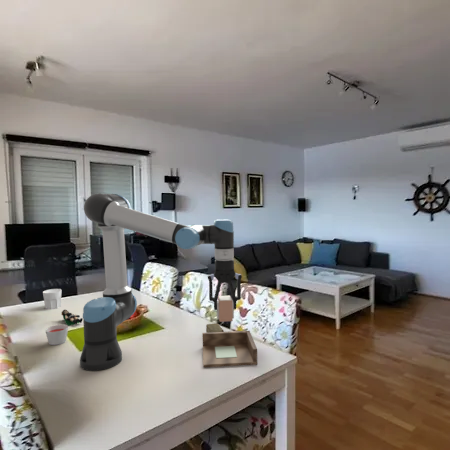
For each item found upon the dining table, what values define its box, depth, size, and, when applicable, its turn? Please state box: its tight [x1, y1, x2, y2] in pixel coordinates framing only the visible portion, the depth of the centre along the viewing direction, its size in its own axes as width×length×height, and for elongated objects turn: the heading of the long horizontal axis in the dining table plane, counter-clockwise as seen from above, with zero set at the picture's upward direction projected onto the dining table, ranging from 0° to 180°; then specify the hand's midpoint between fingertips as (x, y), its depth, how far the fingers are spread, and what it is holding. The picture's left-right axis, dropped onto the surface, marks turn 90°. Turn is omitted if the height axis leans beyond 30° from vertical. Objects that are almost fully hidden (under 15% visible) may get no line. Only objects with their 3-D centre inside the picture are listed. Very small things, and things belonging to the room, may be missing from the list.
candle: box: [44, 324, 69, 346], centre depth 145 cm, size 9×9×6 cm
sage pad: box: [215, 346, 237, 358], centre depth 130 cm, size 8×10×1 cm
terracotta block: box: [217, 294, 234, 323], centre depth 129 cm, size 7×5×8 cm
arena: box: [202, 330, 258, 368], centre depth 130 cm, size 20×18×6 cm
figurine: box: [61, 309, 83, 327], centre depth 170 cm, size 8×6×15 cm
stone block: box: [205, 322, 225, 333], centre depth 148 cm, size 6×12×5 cm, turn 18°
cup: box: [42, 288, 62, 310], centre depth 196 cm, size 10×10×10 cm
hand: (225, 317), depth 129 cm, fingers closed on terracotta block, 5 cm apart
